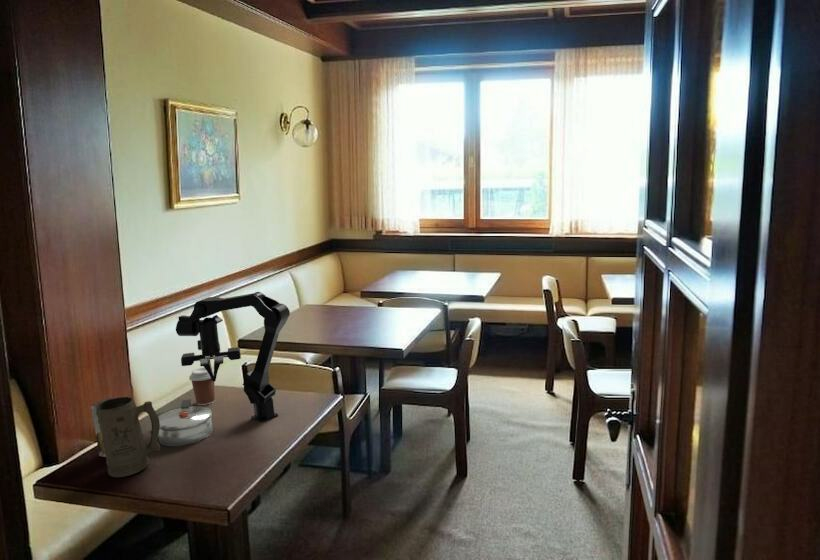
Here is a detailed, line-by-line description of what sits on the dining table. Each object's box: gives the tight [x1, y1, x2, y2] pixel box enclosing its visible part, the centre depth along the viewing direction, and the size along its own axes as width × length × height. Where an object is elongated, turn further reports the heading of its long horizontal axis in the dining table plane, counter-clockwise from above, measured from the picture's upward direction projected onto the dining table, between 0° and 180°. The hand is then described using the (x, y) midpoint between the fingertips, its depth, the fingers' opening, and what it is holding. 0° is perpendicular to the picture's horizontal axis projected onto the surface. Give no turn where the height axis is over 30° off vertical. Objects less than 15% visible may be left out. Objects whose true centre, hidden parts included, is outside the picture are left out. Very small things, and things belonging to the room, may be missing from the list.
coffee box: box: [90, 397, 114, 458], centre depth 189 cm, size 9×6×16 cm
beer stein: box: [96, 396, 161, 478], centre depth 179 cm, size 15×11×20 cm
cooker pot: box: [157, 411, 214, 447], centre depth 203 cm, size 22×16×5 cm
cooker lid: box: [159, 399, 213, 430], centre depth 204 cm, size 23×17×2 cm
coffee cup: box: [188, 367, 216, 406], centre depth 230 cm, size 9×9×12 cm
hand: (214, 381), depth 215 cm, fingers closed
